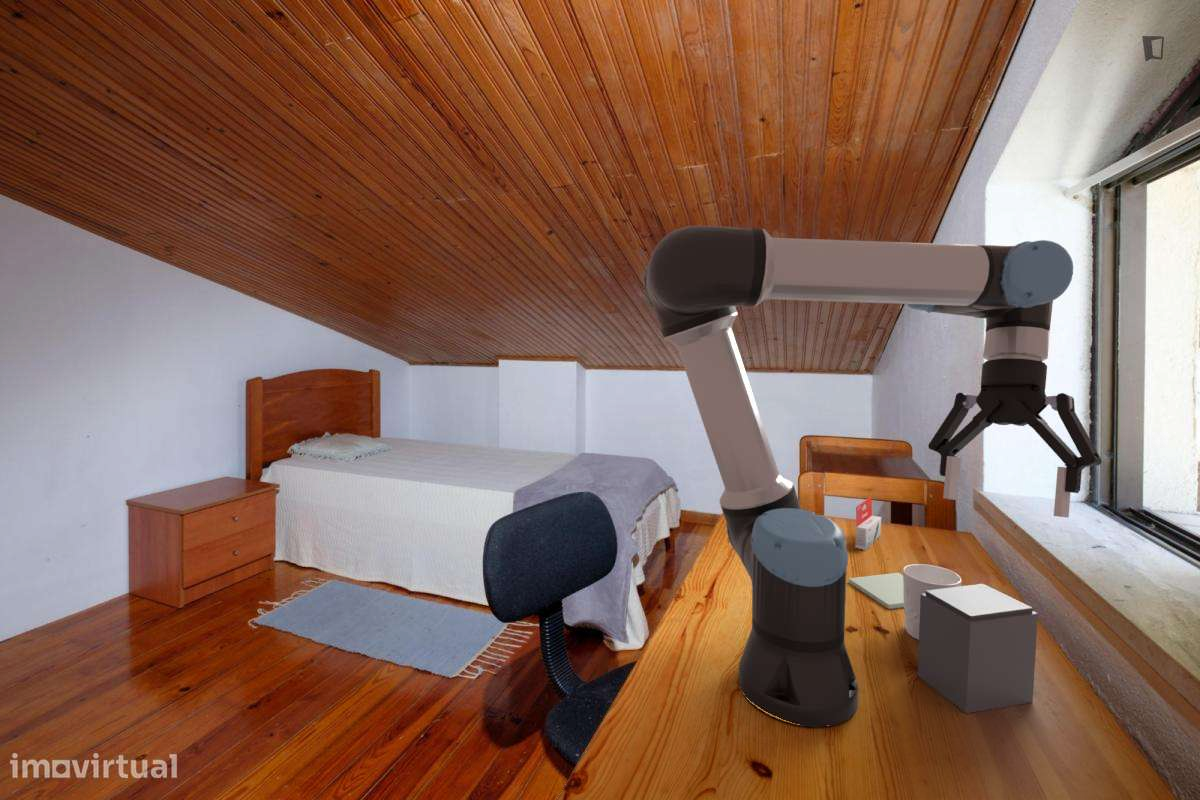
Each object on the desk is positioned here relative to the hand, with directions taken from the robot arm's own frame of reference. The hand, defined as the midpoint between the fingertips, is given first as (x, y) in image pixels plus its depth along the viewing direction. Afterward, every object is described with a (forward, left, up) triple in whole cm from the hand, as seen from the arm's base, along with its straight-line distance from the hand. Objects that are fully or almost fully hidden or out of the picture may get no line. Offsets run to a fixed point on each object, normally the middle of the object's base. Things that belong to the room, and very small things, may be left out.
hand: (1001, 507), depth 77 cm
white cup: (-4, +8, -23) cm, 24 cm away
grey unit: (-9, -5, -23) cm, 25 cm away
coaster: (+1, +22, -23) cm, 31 cm away
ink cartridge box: (+13, +45, -23) cm, 52 cm away
